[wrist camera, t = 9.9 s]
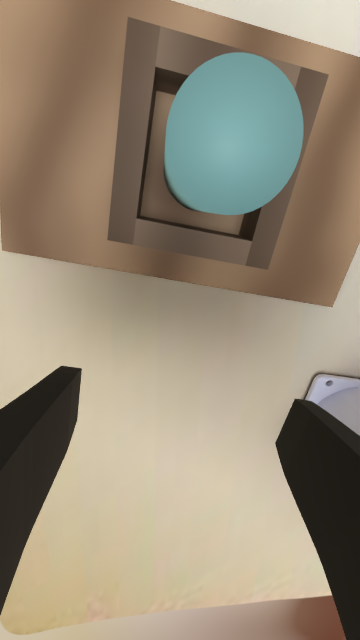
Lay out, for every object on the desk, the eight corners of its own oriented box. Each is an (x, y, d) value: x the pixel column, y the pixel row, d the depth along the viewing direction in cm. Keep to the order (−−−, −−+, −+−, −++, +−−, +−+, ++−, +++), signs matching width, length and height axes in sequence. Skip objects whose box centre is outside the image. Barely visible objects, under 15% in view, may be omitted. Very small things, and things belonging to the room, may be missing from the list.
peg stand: (421, 81, 14) (485, 52, 11) (328, 305, 19) (358, 323, 16) (-7, -47, 12) (-60, -125, 9) (5, 249, 16) (-27, 259, 13)
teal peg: (249, 133, 14) (323, 72, 8) (230, 217, 16) (279, 225, 9) (170, 115, 14) (178, 34, 7) (158, 203, 15) (156, 202, 9)
